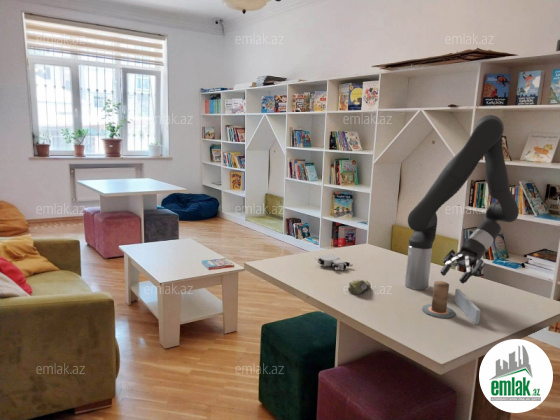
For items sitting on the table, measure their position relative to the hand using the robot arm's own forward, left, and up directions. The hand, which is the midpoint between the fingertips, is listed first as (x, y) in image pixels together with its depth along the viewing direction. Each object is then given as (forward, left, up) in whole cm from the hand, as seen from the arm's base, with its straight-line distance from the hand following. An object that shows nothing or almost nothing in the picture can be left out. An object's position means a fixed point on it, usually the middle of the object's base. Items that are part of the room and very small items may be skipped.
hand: (451, 278), depth 152 cm
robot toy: (-44, -38, -12) cm, 60 cm away
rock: (-15, -30, -12) cm, 36 cm away
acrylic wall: (+2, +6, -12) cm, 13 cm away
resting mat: (+3, -4, -12) cm, 13 cm away
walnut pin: (+3, -4, -11) cm, 12 cm away
